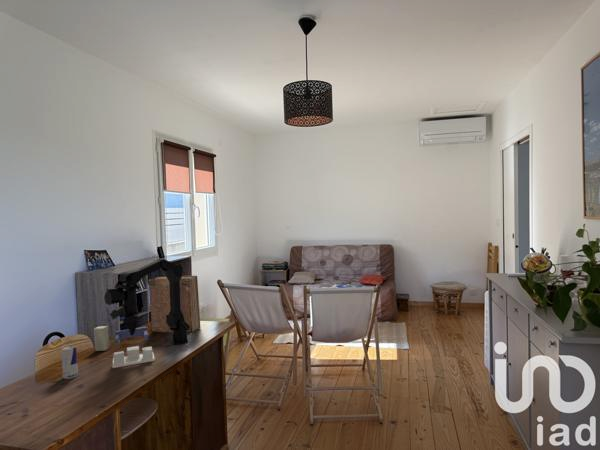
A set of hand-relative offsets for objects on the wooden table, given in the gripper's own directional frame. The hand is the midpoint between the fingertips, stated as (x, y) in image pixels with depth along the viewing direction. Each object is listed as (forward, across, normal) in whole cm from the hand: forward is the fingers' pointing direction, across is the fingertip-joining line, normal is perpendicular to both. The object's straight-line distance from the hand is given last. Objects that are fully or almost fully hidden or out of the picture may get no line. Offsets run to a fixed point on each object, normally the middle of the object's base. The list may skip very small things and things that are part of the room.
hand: (132, 334), depth 185 cm
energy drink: (+11, +9, -24) cm, 28 cm away
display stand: (+11, +2, 0) cm, 11 cm away
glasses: (+1, +4, 0) cm, 4 cm away
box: (+11, -24, -14) cm, 30 cm away
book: (+12, -39, +22) cm, 46 cm away
